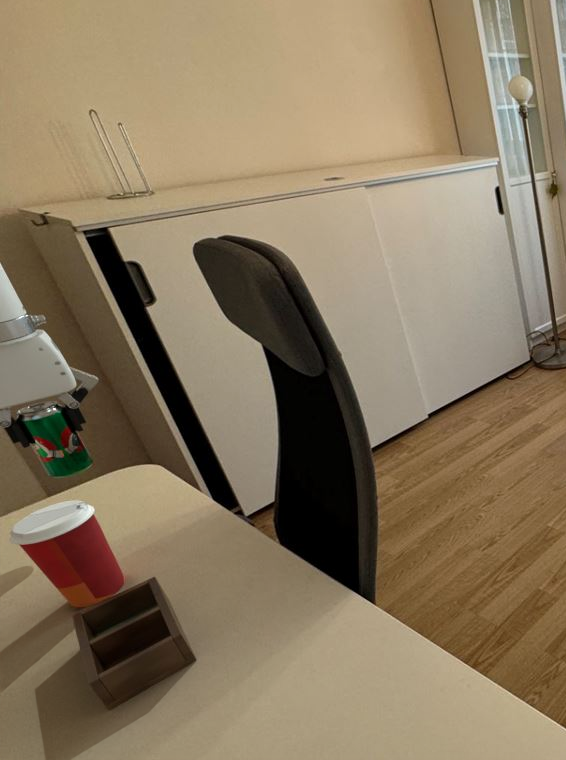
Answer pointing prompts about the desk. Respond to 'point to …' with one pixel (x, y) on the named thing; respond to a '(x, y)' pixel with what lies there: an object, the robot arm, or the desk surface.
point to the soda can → (54, 439)
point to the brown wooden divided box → (131, 642)
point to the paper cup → (71, 551)
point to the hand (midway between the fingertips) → (52, 435)
